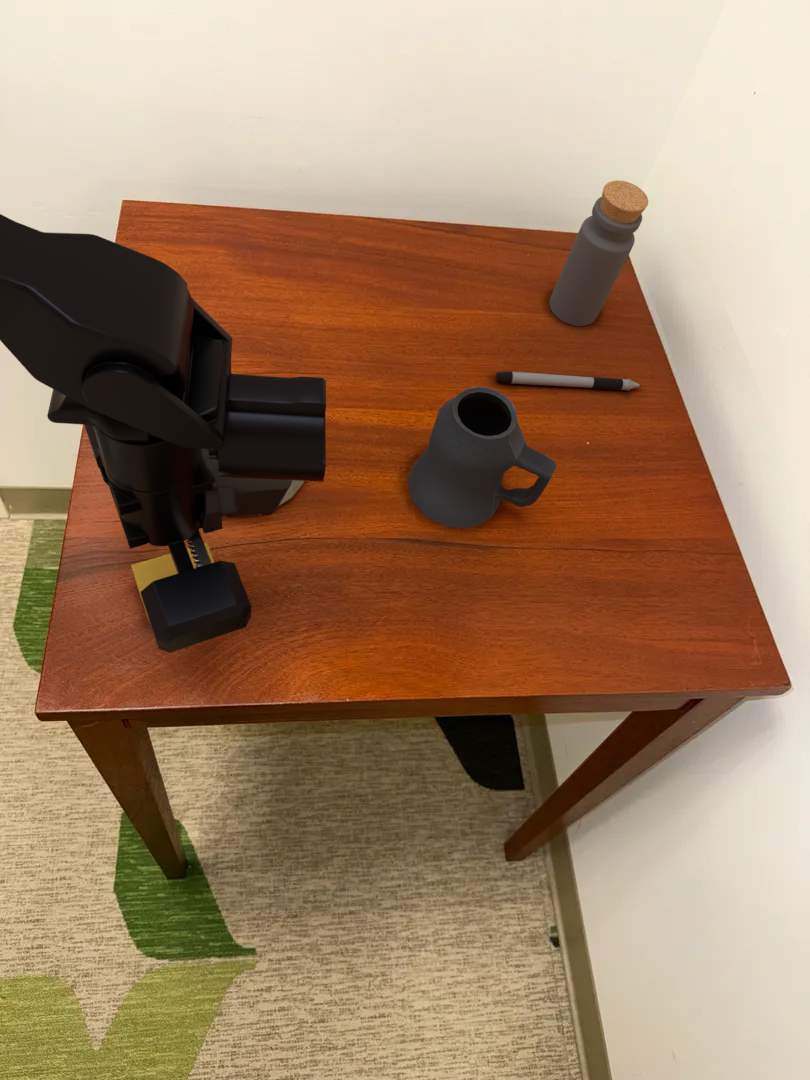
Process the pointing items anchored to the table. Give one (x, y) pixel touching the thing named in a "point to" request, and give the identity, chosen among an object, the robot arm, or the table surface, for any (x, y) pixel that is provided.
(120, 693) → the table surface
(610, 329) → the table surface
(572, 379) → the pen
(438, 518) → the mug
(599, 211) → the bottle
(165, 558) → the sponge
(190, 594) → the robot arm
